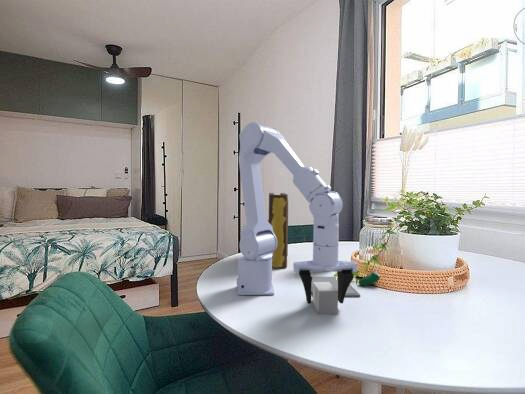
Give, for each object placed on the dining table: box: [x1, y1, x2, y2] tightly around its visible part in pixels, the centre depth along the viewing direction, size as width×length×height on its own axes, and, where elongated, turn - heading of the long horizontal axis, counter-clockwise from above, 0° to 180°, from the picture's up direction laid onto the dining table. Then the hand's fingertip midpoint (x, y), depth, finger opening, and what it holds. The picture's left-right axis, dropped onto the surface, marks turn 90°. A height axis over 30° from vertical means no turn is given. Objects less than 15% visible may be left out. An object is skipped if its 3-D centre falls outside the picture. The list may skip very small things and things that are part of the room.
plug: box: [312, 282, 339, 316], centre depth 71 cm, size 4×9×5 cm, turn 3°
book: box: [267, 192, 289, 270], centre depth 112 cm, size 22×8×25 cm, turn 179°
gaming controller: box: [358, 270, 381, 287], centre depth 89 cm, size 9×4×6 cm
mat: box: [311, 276, 361, 298], centre depth 84 cm, size 12×15×1 cm
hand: (324, 301), depth 70 cm, fingers open, 7 cm apart
